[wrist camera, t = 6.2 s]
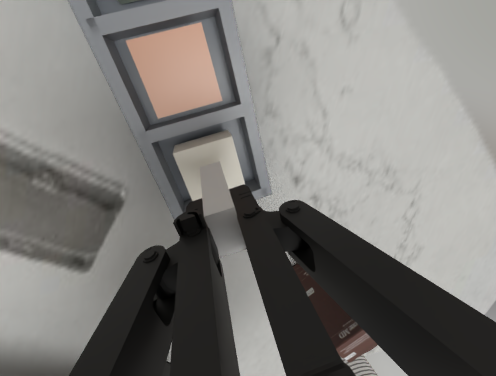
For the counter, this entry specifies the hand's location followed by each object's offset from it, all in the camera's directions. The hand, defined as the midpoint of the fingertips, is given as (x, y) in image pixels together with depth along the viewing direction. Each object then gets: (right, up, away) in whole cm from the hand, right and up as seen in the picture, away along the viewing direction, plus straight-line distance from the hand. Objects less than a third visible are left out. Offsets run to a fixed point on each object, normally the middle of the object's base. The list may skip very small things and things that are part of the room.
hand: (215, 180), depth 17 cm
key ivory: (-1, +2, +4) cm, 5 cm away
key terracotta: (-3, +8, +1) cm, 9 cm away
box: (+12, -12, +18) cm, 24 cm away
